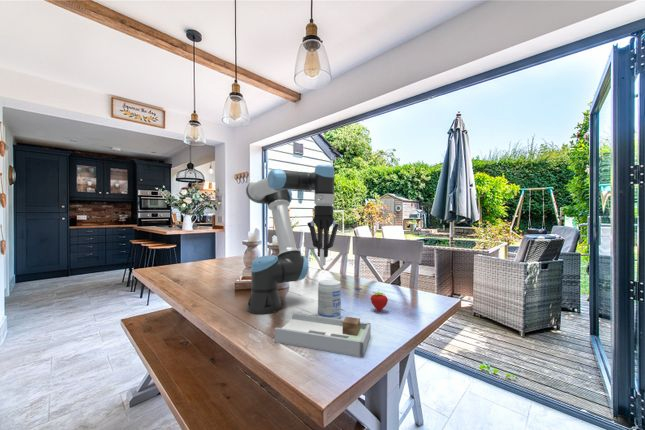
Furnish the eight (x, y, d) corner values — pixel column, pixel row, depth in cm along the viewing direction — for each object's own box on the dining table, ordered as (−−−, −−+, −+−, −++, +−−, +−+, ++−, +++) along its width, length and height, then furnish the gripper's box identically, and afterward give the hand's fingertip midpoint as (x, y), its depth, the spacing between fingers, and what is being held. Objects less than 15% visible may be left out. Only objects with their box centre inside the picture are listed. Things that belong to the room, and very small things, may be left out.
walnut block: (342, 333, 92) (342, 322, 92) (346, 327, 96) (346, 316, 96) (357, 335, 90) (357, 324, 90) (359, 329, 95) (359, 318, 95)
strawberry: (386, 315, 115) (386, 291, 115) (368, 312, 118) (368, 289, 118) (389, 310, 120) (389, 288, 120) (372, 308, 124) (372, 286, 123)
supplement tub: (337, 322, 107) (337, 285, 107) (314, 319, 110) (315, 283, 110) (343, 314, 116) (343, 280, 116) (322, 311, 119) (322, 278, 119)
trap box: (274, 341, 91) (274, 328, 91) (293, 324, 105) (293, 312, 105) (363, 357, 81) (363, 342, 81) (370, 335, 96) (370, 323, 96)
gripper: (304, 204, 104) (303, 265, 104) (337, 205, 99) (335, 269, 100) (311, 204, 111) (310, 261, 112) (342, 205, 106) (341, 264, 107)
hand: (322, 265), depth 106 cm, fingers closed
